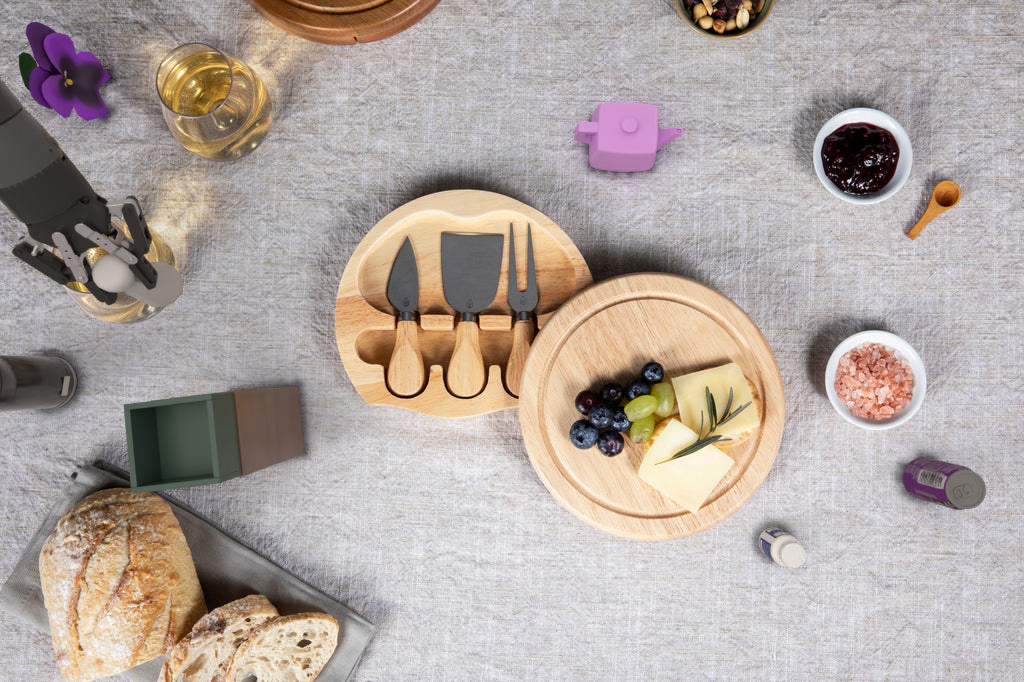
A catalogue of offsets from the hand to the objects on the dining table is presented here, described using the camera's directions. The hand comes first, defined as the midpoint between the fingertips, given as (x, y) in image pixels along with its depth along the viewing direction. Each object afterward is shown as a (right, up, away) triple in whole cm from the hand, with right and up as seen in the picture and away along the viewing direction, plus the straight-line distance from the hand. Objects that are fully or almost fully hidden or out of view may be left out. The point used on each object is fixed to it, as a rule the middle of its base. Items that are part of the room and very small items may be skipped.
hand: (133, 292), depth 77 cm
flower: (-36, +39, +44) cm, 69 cm away
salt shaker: (-1, +1, +9) cm, 9 cm away
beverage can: (+115, -30, +39) cm, 125 cm away
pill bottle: (+90, -41, +39) cm, 106 cm away
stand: (+1, -20, +41) cm, 46 cm away
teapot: (+64, +30, +42) cm, 82 cm away
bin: (0, -19, +15) cm, 24 cm away
